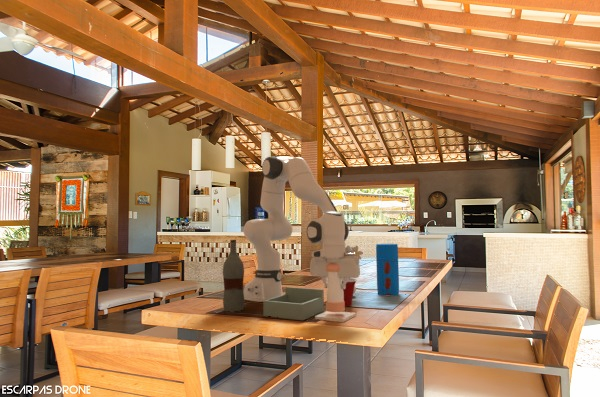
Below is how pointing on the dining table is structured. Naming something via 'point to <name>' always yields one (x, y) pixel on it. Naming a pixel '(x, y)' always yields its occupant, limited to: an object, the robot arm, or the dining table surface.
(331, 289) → the pepper shaker
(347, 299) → the plastic cup
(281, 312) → the grey open box
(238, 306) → the bottle
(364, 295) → the dining table surface
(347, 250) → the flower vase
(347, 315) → the ceramic tile
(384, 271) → the blue tall boxy piece
